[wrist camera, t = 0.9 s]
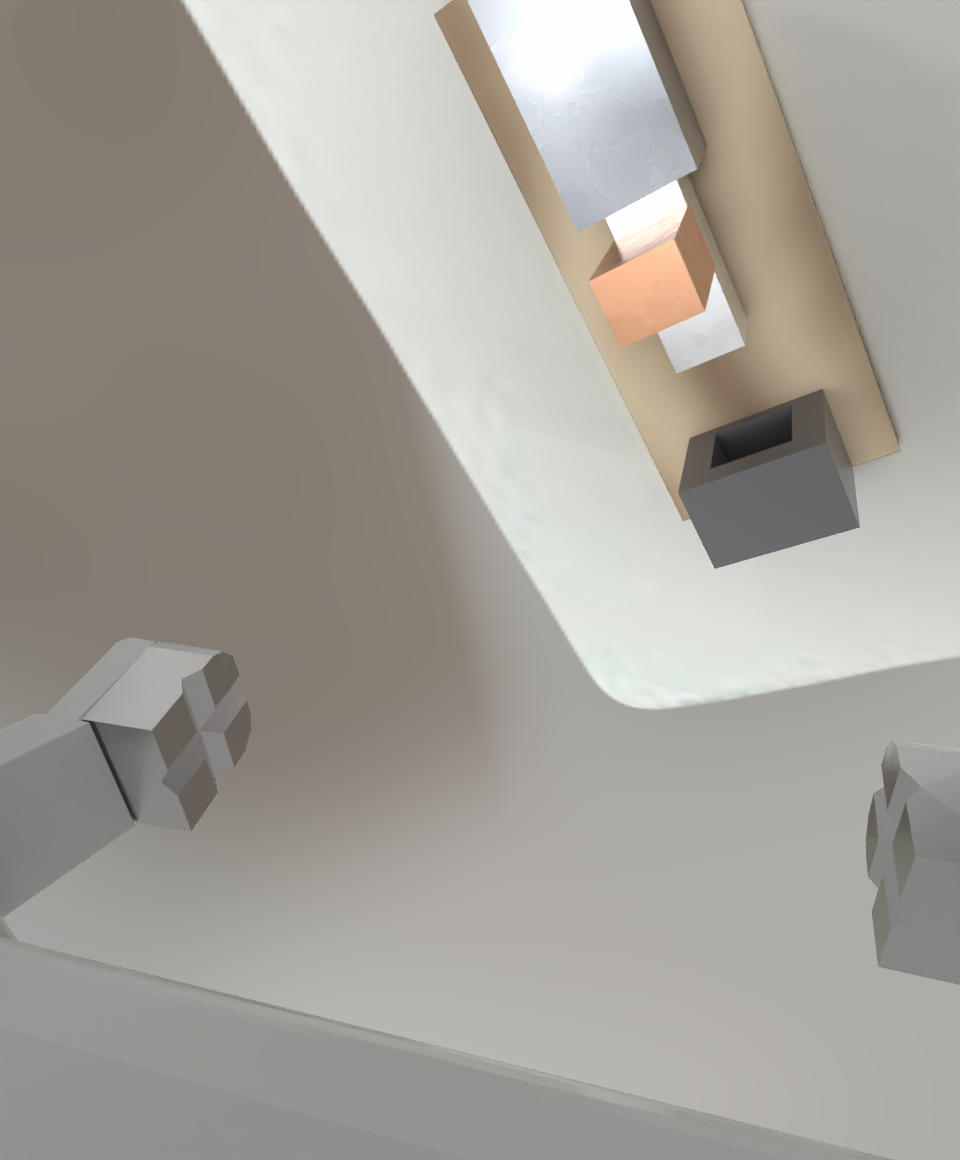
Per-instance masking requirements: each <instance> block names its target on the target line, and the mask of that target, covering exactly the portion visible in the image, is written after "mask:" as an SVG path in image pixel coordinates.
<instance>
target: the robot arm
mask: <svg viewBox="0 0 960 1160" xmlns="http://www.w3.org/2000/svg"><path fill="white" fill-rule="evenodd" d="M238 677H239V672H238V670H237V667H236V664H235V661H234V658H233V656H232V655H229V654H227V653H225V652H222V651H215V650H210V649H204V648H197V647H191V646H184V645H179V644H172V643H166V642H154V641H148V640H143V639H136V638H131V637H130V638H127V639H124V640H121V641H118V642H117V643H116V644H115V645H114V646H113V647H112V648H111V649H110V650H109V651H108V652H107V653H106V654H105V655H104V656H103V657H102V658H101V659H100V660H99V661H98V662H97V663H96V664H95V665H94V666H93V667H92V668H91V669H90V670H89V672H87V673H86V675H85V676H84V677H83V678H82V679H81V680H80V681H79V682H78V683H77V684H76V685H75V686H74V687H73V688H72V689H71V690H70V691H69V692H68V693H67V694H66V695H65V696H64V697H63V698H62V699H61V700H60V701H59V702H58V703H57V704H56V705H55V706H54V707H53V708H52V709H51V710H50V711H49V712H48V713H47V714H46V715H42V714H34V715H32V716H30V717H27V718H25V719H23V720H21V721H18V722H17V723H14V724H12V725H10V726H8V727H6V728H3V729H1V730H0V1160H892V1159H888V1158H884V1157H880V1156H876V1155H872V1154H868V1153H864V1152H860V1151H856V1150H852V1149H848V1148H844V1147H840V1146H836V1145H832V1144H828V1143H824V1142H820V1141H816V1140H812V1139H808V1138H804V1137H800V1136H796V1135H792V1134H788V1133H784V1132H780V1131H776V1130H772V1129H768V1128H764V1127H760V1126H756V1125H752V1124H748V1123H744V1122H740V1121H736V1120H732V1119H728V1118H724V1117H720V1116H716V1115H712V1114H708V1113H704V1112H700V1111H696V1110H692V1109H688V1108H684V1107H680V1106H676V1105H672V1104H668V1103H664V1102H660V1101H656V1100H652V1099H648V1098H644V1097H640V1096H636V1095H632V1094H627V1093H624V1092H620V1091H616V1090H612V1089H607V1088H604V1087H600V1086H596V1085H592V1084H588V1083H584V1082H580V1081H576V1080H572V1079H568V1078H564V1077H560V1076H556V1075H552V1074H548V1073H544V1072H540V1071H536V1070H532V1069H528V1068H524V1067H520V1066H516V1065H511V1064H508V1063H504V1062H500V1061H496V1060H492V1059H488V1058H483V1057H480V1056H475V1055H472V1054H468V1053H464V1052H460V1051H456V1050H452V1049H447V1048H444V1047H440V1046H436V1045H432V1044H428V1043H424V1042H420V1041H416V1040H412V1039H408V1038H404V1037H399V1036H395V1035H391V1034H387V1033H383V1032H379V1031H375V1030H371V1029H367V1028H363V1027H359V1026H355V1025H351V1024H347V1023H343V1022H339V1021H335V1020H331V1019H327V1018H323V1017H319V1016H315V1015H311V1014H307V1013H303V1012H298V1011H294V1010H291V1009H287V1008H283V1007H279V1006H275V1005H271V1004H266V1003H263V1002H259V1001H255V1000H251V999H246V998H242V997H238V996H234V995H230V994H226V993H222V992H218V991H214V990H210V989H206V988H202V987H198V986H194V985H190V984H186V983H182V982H178V981H174V980H170V979H166V978H162V977H158V976H154V975H150V974H146V973H142V972H138V971H134V970H130V969H126V968H122V967H118V966H114V965H110V964H106V963H102V962H98V961H94V960H90V959H86V958H82V957H78V956H74V955H70V954H66V953H62V952H58V951H54V950H50V949H46V948H42V947H38V946H34V945H30V944H26V943H22V942H18V940H17V939H16V937H15V936H14V934H13V932H12V931H11V929H10V928H9V926H8V925H7V923H6V922H5V920H4V918H3V917H5V916H6V915H7V914H9V913H10V912H12V911H13V910H14V909H16V908H17V907H19V906H20V905H22V904H23V903H25V902H26V901H27V900H29V899H30V898H32V897H33V896H34V895H36V894H37V893H39V892H40V891H41V890H43V889H45V888H46V887H47V886H49V885H50V884H52V883H53V882H54V881H56V880H57V879H59V878H60V877H62V876H63V875H65V874H66V873H67V872H69V871H70V870H72V869H73V868H74V867H76V866H77V865H78V864H80V863H82V862H83V861H85V860H86V859H87V858H89V857H90V856H92V855H93V854H94V853H96V852H97V851H99V850H100V849H102V848H103V847H105V846H106V845H107V844H109V843H110V842H112V841H113V840H115V839H116V838H117V837H119V836H120V835H122V834H123V833H125V832H126V831H127V830H129V829H130V828H132V827H133V826H134V825H135V824H134V822H139V823H144V824H150V825H156V826H162V827H168V828H175V829H181V830H187V831H192V830H193V828H194V826H195V825H196V824H197V822H198V821H199V819H200V818H201V816H202V815H203V814H204V812H205V811H206V809H207V808H208V806H209V805H210V803H211V802H212V800H213V799H214V797H215V796H216V794H217V793H218V792H217V784H216V778H217V777H219V776H221V775H222V774H224V773H226V772H228V771H229V770H231V769H233V768H235V766H236V764H237V763H238V761H239V760H240V758H241V757H242V755H243V753H244V752H245V749H246V746H247V743H248V739H249V736H250V732H251V713H250V709H249V706H248V702H247V700H246V699H245V698H244V697H243V696H242V695H241V694H240V693H239V692H238V691H237V689H235V687H233V685H234V683H235V682H236V680H237V678H238ZM881 766H882V774H883V781H884V787H883V788H882V789H880V790H878V791H877V792H875V793H874V794H873V798H872V803H871V807H870V811H869V816H868V825H867V834H866V859H867V870H868V877H869V878H870V879H871V881H872V882H873V883H874V884H875V885H876V886H877V887H878V893H877V896H876V899H875V903H874V906H873V910H872V916H873V917H872V918H873V926H874V935H875V943H876V952H877V960H878V967H882V968H887V969H891V970H896V971H900V972H905V973H909V974H914V975H918V976H923V977H928V978H932V979H937V980H941V981H945V982H950V983H954V984H959V985H960V749H955V748H947V747H939V746H931V745H923V744H914V743H907V742H898V741H891V742H890V744H889V745H888V747H887V749H886V752H885V755H884V758H883V762H882V765H881Z"/></svg>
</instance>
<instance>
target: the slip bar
mask: <svg viewBox="0 0 960 1160" xmlns="http://www.w3.org/2000/svg"><path fill="white" fill-rule="evenodd" d="M605 219H606V221H607V223H608V225H609V227H610V230H611V232H612V234H613V236H614V238H615V241H614V242H613V243H612V244H611V246H610V248H609V249H608V251H607V252H606V254H605V256H604V257H603V259H602V261H601V262H600V264H599V265H598V267H597V269H596V270H595V272H594V273H593V275H592V277H591V278H590V280H589V284H590V286H591V288H592V290H593V292H594V294H595V296H596V298H597V300H598V302H599V304H600V307H601V309H602V311H603V313H604V315H605V317H606V319H607V321H608V323H609V325H610V327H611V329H612V332H613V334H614V336H615V338H616V340H617V342H618V344H619V346H620V348H621V349H622V348H624V347H626V346H628V345H631V344H633V343H635V342H637V341H640V340H642V339H644V338H646V337H649V336H651V335H653V334H655V333H658V334H659V337H660V339H661V341H662V343H663V345H664V348H665V350H666V352H667V354H668V356H669V358H670V361H671V363H672V365H673V367H674V369H675V372H676V374H677V373H680V372H682V371H685V370H687V369H689V368H692V367H694V366H697V365H699V364H701V363H704V362H706V361H709V360H711V359H714V358H716V357H718V356H721V355H723V354H726V353H728V352H730V351H733V350H735V349H738V348H740V347H743V346H745V342H746V334H747V326H748V320H747V317H746V315H745V312H744V310H743V307H742V305H741V303H740V300H739V298H738V295H737V293H736V290H735V288H734V286H733V283H732V281H731V278H730V276H729V273H728V271H727V268H726V266H725V264H724V261H723V259H722V256H721V254H720V251H719V249H718V246H717V244H716V242H715V239H714V237H713V234H712V232H711V229H710V227H709V224H708V222H707V220H706V217H705V215H704V212H703V210H702V207H701V205H700V202H699V200H698V198H697V195H696V193H695V190H694V188H693V185H692V183H691V180H690V178H689V176H688V174H687V175H685V176H683V177H682V178H680V179H678V180H676V181H674V182H672V183H670V184H668V185H667V186H665V187H663V188H661V189H659V190H657V191H655V192H653V193H652V194H650V195H648V196H646V197H644V198H642V199H640V200H638V201H637V202H635V203H633V204H631V205H629V206H627V207H625V208H623V209H622V210H620V211H618V212H616V213H614V214H612V215H610V216H608V217H607V218H605Z"/></svg>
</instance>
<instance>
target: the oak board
mask: <svg viewBox="0 0 960 1160" xmlns="http://www.w3.org/2000/svg"><path fill="white" fill-rule="evenodd" d="M650 1H651V3H652V6H653V8H654V11H655V14H656V16H657V19H658V21H659V24H660V26H661V29H662V31H663V34H664V36H665V39H666V41H667V44H668V47H669V49H670V52H671V54H672V57H673V59H674V62H675V64H676V67H677V69H678V72H679V74H680V77H681V79H682V82H683V85H684V87H685V90H686V92H687V95H688V97H689V100H690V102H691V105H692V107H693V110H694V112H695V115H696V117H697V120H698V123H699V125H700V128H701V130H702V133H703V135H704V138H705V140H706V143H707V145H708V146H707V148H706V150H705V152H704V155H703V157H702V159H701V162H700V164H699V166H698V168H697V170H695V171H693V172H691V173H689V174H688V176H689V178H690V180H691V183H692V185H693V188H694V190H695V193H696V195H697V198H698V200H699V202H700V205H701V207H702V210H703V212H704V215H705V217H706V220H707V222H708V224H709V227H710V229H711V232H712V234H713V237H714V239H715V242H716V244H717V246H718V249H719V251H720V254H721V256H722V259H723V261H724V264H725V266H726V268H727V271H728V273H729V276H730V278H731V281H732V283H733V286H734V288H735V290H736V293H737V295H738V298H739V300H740V303H741V305H742V307H743V310H744V312H745V315H746V317H747V320H748V326H747V334H746V342H745V346H743V347H740V348H738V349H735V350H733V351H730V352H728V353H726V354H723V355H721V356H718V357H716V358H714V359H711V360H709V361H706V362H704V363H701V364H699V365H697V366H694V367H692V368H689V369H687V370H685V371H682V372H680V373H677V374H676V372H675V369H674V367H673V365H672V363H671V361H670V358H669V356H668V354H667V352H666V350H665V348H664V345H663V343H662V341H661V339H660V337H659V334H658V333H655V334H653V335H651V336H649V337H646V338H644V339H642V340H640V341H637V342H635V343H633V344H631V345H628V346H626V347H624V348H622V349H621V348H620V346H619V344H618V342H617V340H616V338H615V336H614V334H613V332H612V329H611V327H610V325H609V323H608V321H607V319H606V317H605V315H604V313H603V311H602V309H601V307H600V304H599V302H598V300H597V298H596V296H595V294H594V292H593V290H592V288H591V286H590V284H589V280H590V278H591V277H592V275H593V273H594V272H595V270H596V269H597V267H598V265H599V264H600V262H601V261H602V259H603V257H604V256H605V254H606V252H607V251H608V249H609V248H610V246H611V244H612V243H613V242H614V241H615V238H614V236H613V234H612V232H611V230H610V227H609V225H608V223H607V221H606V219H603V220H601V221H599V222H597V223H595V224H593V225H591V226H590V227H588V228H586V229H584V230H582V231H580V232H578V233H577V230H576V228H575V226H574V224H573V222H572V220H571V218H570V216H569V214H568V211H567V209H566V207H565V205H564V203H563V201H562V199H561V197H560V195H559V193H558V190H557V188H556V186H555V184H554V182H553V180H552V178H551V176H550V174H549V171H548V169H547V167H546V165H545V163H544V161H543V159H542V157H541V155H540V153H539V150H538V148H537V146H536V144H535V142H534V140H533V138H532V136H531V134H530V131H529V129H528V127H527V125H526V123H525V121H524V119H523V117H522V115H521V113H520V110H519V108H518V106H517V104H516V102H515V100H514V98H513V96H512V94H511V91H510V89H509V87H508V85H507V83H506V81H505V79H504V77H503V75H502V73H501V70H500V68H499V66H498V64H497V62H496V60H495V58H494V56H493V54H492V51H491V49H490V47H489V45H488V43H487V41H486V39H485V37H484V35H483V32H482V30H481V28H480V26H479V24H478V22H477V20H476V18H475V16H474V14H473V11H472V9H471V7H470V5H469V3H468V1H467V0H453V1H451V2H450V3H449V4H447V5H446V6H445V7H443V8H442V9H441V10H439V11H438V12H437V13H435V14H434V16H435V18H436V20H437V22H438V24H439V26H440V28H441V30H442V32H443V34H444V36H445V38H446V40H447V42H448V45H449V47H450V49H451V51H452V53H453V55H454V57H455V59H456V61H457V63H458V65H459V67H460V69H461V71H462V73H463V75H464V77H465V79H466V81H467V83H468V85H469V87H470V89H471V91H472V93H473V95H474V97H475V99H476V101H477V103H478V105H479V107H480V109H481V112H482V114H483V116H484V118H485V120H486V122H487V124H488V126H489V128H490V130H491V132H492V134H493V136H494V138H495V140H496V142H497V144H498V146H499V148H500V150H501V152H502V154H503V156H504V158H505V160H506V162H507V164H508V166H509V168H510V170H511V172H512V174H513V176H514V179H515V181H516V183H517V185H518V187H519V189H520V191H521V193H522V195H523V197H524V199H525V201H526V203H527V205H528V207H529V209H530V211H531V213H532V215H533V217H534V219H535V221H536V223H537V225H538V227H539V229H540V231H541V233H542V235H543V237H544V239H545V241H546V243H547V246H548V248H549V250H550V252H551V254H552V256H553V258H554V260H555V262H556V264H557V266H558V268H559V270H560V272H561V274H562V276H563V278H564V280H565V282H566V284H567V286H568V288H569V290H570V292H571V294H572V296H573V298H574V300H575V302H576V304H577V306H578V308H579V310H580V312H581V315H582V317H583V319H584V321H585V323H586V325H587V327H588V329H589V331H590V333H591V335H592V337H593V339H594V341H595V343H596V345H597V347H598V349H599V351H600V353H601V355H602V357H603V359H604V361H605V363H606V365H607V367H608V369H609V371H610V373H611V375H612V377H613V379H614V382H615V384H616V386H617V388H618V390H619V392H620V394H621V396H622V398H623V400H624V402H625V404H626V406H627V408H628V410H629V412H630V414H631V416H632V418H633V420H634V422H635V424H636V426H637V428H638V430H639V432H640V434H641V436H642V438H643V440H644V442H645V444H646V446H647V449H648V451H649V453H650V455H651V457H652V459H653V461H654V463H655V465H656V467H657V469H658V471H659V473H660V475H661V477H662V479H663V481H664V483H665V485H666V487H667V489H668V491H669V493H670V495H671V497H672V499H673V501H674V503H675V505H676V507H677V509H678V511H679V513H680V516H681V518H682V520H683V521H685V520H688V519H690V517H689V515H688V512H687V510H686V508H685V506H684V504H683V502H682V500H681V498H680V496H679V494H678V491H679V486H680V481H681V476H682V472H683V467H684V462H685V458H686V453H687V448H688V443H689V439H690V438H691V437H694V436H696V435H699V434H702V433H705V432H707V431H710V430H713V429H715V428H718V427H721V426H723V425H726V424H729V423H731V422H734V421H737V420H740V419H742V418H745V417H748V416H750V415H753V414H756V413H758V412H761V411H764V410H767V409H769V408H772V407H775V406H777V405H780V404H783V403H785V402H788V401H791V400H794V399H796V398H799V397H802V396H804V395H807V394H810V393H812V392H815V391H818V390H821V389H823V391H824V394H825V396H826V399H827V401H828V404H829V407H830V409H831V412H832V414H833V417H834V420H835V422H836V425H837V427H838V430H839V433H840V435H841V438H842V440H843V443H844V446H845V448H846V451H847V453H848V456H849V459H850V461H851V464H852V466H856V465H859V464H862V463H865V462H868V461H871V460H874V459H878V458H881V457H884V456H887V455H890V454H893V453H896V452H899V451H900V446H899V442H898V439H897V436H896V433H895V430H894V427H893V424H892V422H891V419H890V416H889V413H888V410H887V407H886V405H885V402H884V399H883V396H882V393H881V391H880V388H879V385H878V382H877V379H876V376H875V374H874V371H873V368H872V365H871V362H870V360H869V357H868V354H867V351H866V348H865V345H864V343H863V340H862V337H861V334H860V331H859V328H858V326H857V323H856V320H855V317H854V314H853V312H852V309H851V306H850V303H849V300H848V297H847V295H846V292H845V289H844V286H843V283H842V281H841V278H840V275H839V272H838V269H837V266H836V264H835V261H834V258H833V255H832V252H831V249H830V247H829V244H828V241H827V238H826V235H825V233H824V230H823V227H822V224H821V221H820V218H819V216H818V213H817V210H816V207H815V204H814V202H813V199H812V196H811V193H810V190H809V187H808V185H807V182H806V179H805V176H804V173H803V170H802V168H801V165H800V162H799V159H798V156H797V154H796V151H795V148H794V145H793V142H792V139H791V137H790V134H789V131H788V128H787V125H786V123H785V120H784V117H783V114H782V111H781V108H780V106H779V103H778V100H777V97H776V94H775V91H774V89H773V86H772V83H771V80H770V77H769V75H768V72H767V69H766V66H765V63H764V60H763V58H762V55H761V52H760V49H759V46H758V44H757V41H756V38H755V35H754V32H753V29H752V27H751V24H750V21H749V18H748V15H747V12H746V10H745V7H744V4H743V1H742V0H650Z"/></svg>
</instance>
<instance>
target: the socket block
mask: <svg viewBox="0 0 960 1160" xmlns="http://www.w3.org/2000/svg"><path fill="white" fill-rule="evenodd" d="M678 494H679V496H680V498H681V500H682V502H683V504H684V506H685V508H686V510H687V512H688V515H689V517H690V519H691V521H692V523H693V525H694V527H695V529H696V531H697V533H698V535H699V537H700V539H701V541H702V543H703V545H704V547H705V549H706V551H707V553H708V556H709V558H710V560H711V562H712V564H713V566H714V568H719V567H722V566H726V565H729V564H733V563H736V562H740V561H743V560H747V559H750V558H754V557H757V556H761V555H764V554H768V553H771V552H775V551H778V550H782V549H785V548H789V547H792V546H796V545H799V544H803V543H806V542H810V541H813V540H817V539H820V538H824V537H827V536H831V535H834V534H837V533H841V532H844V531H848V530H851V529H855V528H858V527H860V526H859V517H858V509H857V500H856V492H855V483H854V475H853V466H852V464H851V461H850V459H849V456H848V453H847V451H846V448H845V446H844V443H843V440H842V438H841V435H840V433H839V430H838V427H837V425H836V422H835V420H834V417H833V414H832V412H831V409H830V407H829V404H828V401H827V399H826V396H825V394H824V391H823V389H821V390H818V391H815V392H812V393H810V394H807V395H804V396H802V397H799V398H796V399H794V400H791V401H788V402H785V403H783V404H780V405H777V406H775V407H772V408H769V409H767V410H764V411H761V412H758V413H756V414H753V415H750V416H748V417H745V418H742V419H740V420H737V421H734V422H731V423H729V424H726V425H723V426H721V427H718V428H715V429H713V430H710V431H707V432H705V433H702V434H699V435H696V436H694V437H691V438H690V439H689V443H688V448H687V453H686V458H685V462H684V467H683V472H682V476H681V481H680V486H679V491H678Z"/></svg>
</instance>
